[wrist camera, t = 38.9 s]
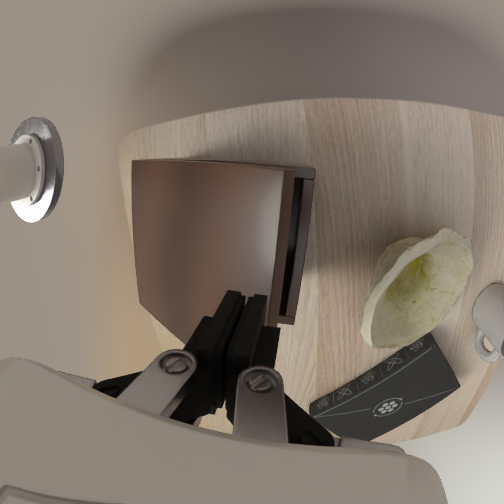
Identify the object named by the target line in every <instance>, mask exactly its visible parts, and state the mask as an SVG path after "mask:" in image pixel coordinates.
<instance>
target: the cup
mask: <svg viewBox="0 0 504 504" xmlns="http://www.w3.org/2000/svg"><path fill="white" fill-rule="evenodd" d="M473 320H474V322H475V324H476V325H477V326H478V328H479V329H478V331H477V333H476V335H475V340H474V344H475V349H476V351H477V353H478V355H479V356H480V358H481V359H482V360H483V361H484V362H488V363H490V362H494V361H495V360H496V359H498V358H499V357H501V358H503V359H504V286H502V285H501V284H492V285H490V286H488V287H486V288H485V289H484V290H483V291H482V292H481V293H480V295H479V296H478V298H477V300H476V302H475V304H474V308H473ZM484 336H485V337H486V338H487V339H488V341H489V342H490V343H491V344H492V346H493V347H494V349H493V351H492V352H490V351H488V350H487V349H486V347H485V346H484V342H483V339H484Z"/></svg>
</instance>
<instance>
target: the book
mask: <svg viewBox="0 0 504 504" xmlns="http://www.w3.org/2000/svg"><path fill="white" fill-rule="evenodd" d="M458 388H460V384H459V382H458V380H457V378H456V376H455V374H454V372H453V371H452V369H451V367H450V365H449V364H448V362H447V360H446V358H445V357H444V355H443V353H442V352H441V350H440V348H439V347H438V345H437V343H436V342H435V340H434V338H433V337H432V335H431V334H430V332H428V333H426V334H425V335H424V336H422V337H421V338H419V339H417V340H416V341H414V342H413V343H412V344H410V345H408V346H405V347H403V348H402V349H401V350H399V351H398V352H396V353H395V354H393V355H392V356H391V357H389V358H388V359H386V360H385V361H383V362H382V363H380V364H378V365H377V366H375V367H374V368H372V369H371V370H369V371H367V372H366V373H364V374H363V375H361V376H359V377H358V378H356V379H354V380H353V381H351V382H349V383H347V384H346V385H344V386H342V387H340V388H339V389H337V390H335V391H333V392H331V393H329V394H327V395H326V396H324V397H322V398H320V399H318V400H316V401H314V402H312V403H310V406H309V414H310V416H311V417H312V418H313V419H314V420H316V421H317V422H318V423H319V424H320V425H322V426H323V427H325V428H326V429H328V430H330V431H331V432H333V433H334V434H336V435H337V436H339V437H340V438H342V436H344V437H349V438H354V439H360V440H365V441H370V440H372V439H374V438H377V437H379V436H381V435H383V434H385V433H387V432H389V431H391V430H393V429H394V428H396V427H398V426H400V425H402V424H404V423H405V422H407V421H409V420H411V419H413V418H414V417H416V416H418V415H419V414H421V413H423V412H424V411H426V410H427V409H429V408H431V407H432V406H434V405H435V404H437V403H438V402H440V401H441V400H443V399H444V398H446V397H447V396H448V395H450V394H451V393H453V392H454V391H455V390H457V389H458Z"/></svg>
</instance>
